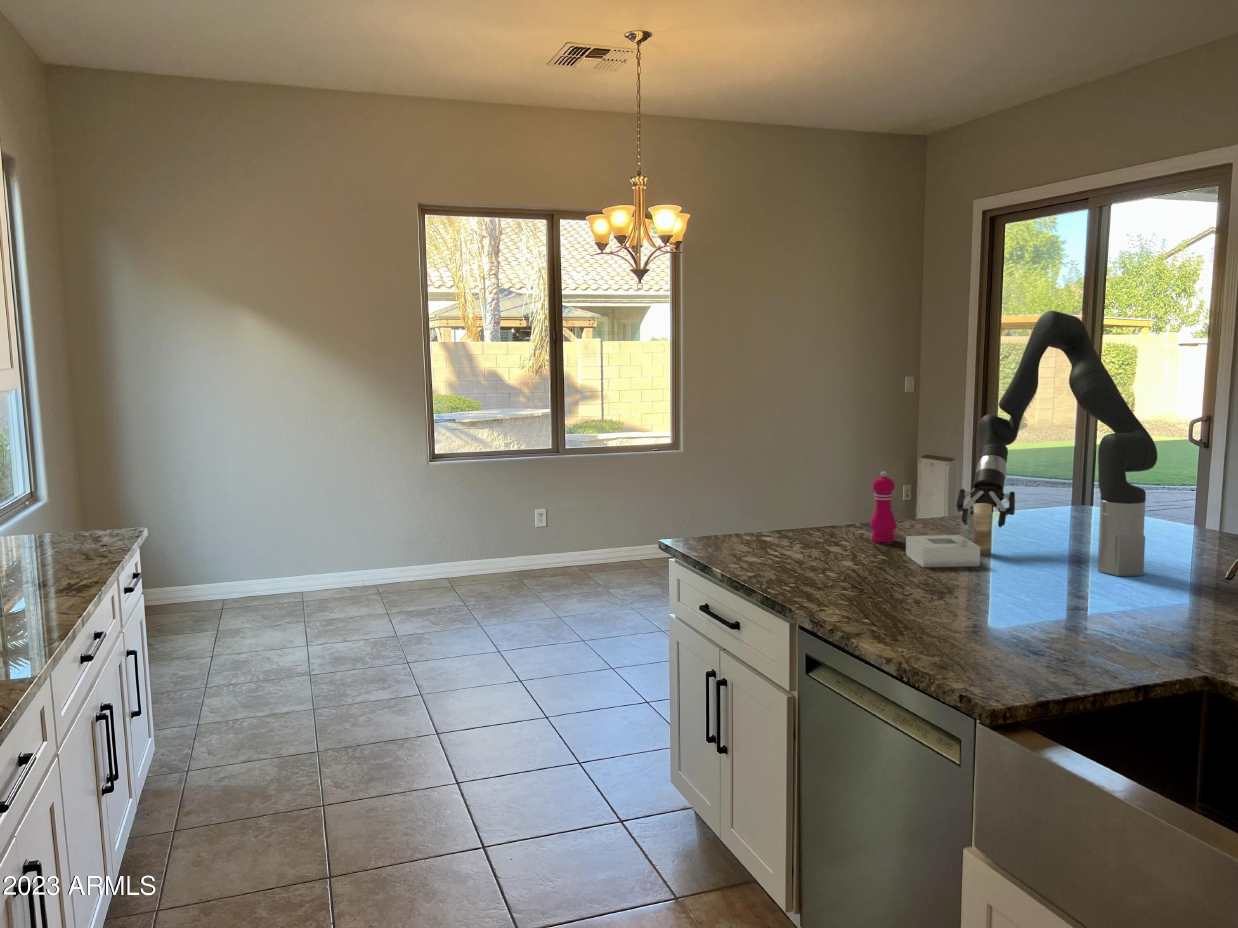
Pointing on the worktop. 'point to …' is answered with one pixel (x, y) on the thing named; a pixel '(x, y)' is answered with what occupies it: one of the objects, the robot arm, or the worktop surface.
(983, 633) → the worktop surface
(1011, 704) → the worktop surface
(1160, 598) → the worktop surface
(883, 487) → the pepper mill
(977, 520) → the peg
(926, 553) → the white square frame block
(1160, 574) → the worktop surface
